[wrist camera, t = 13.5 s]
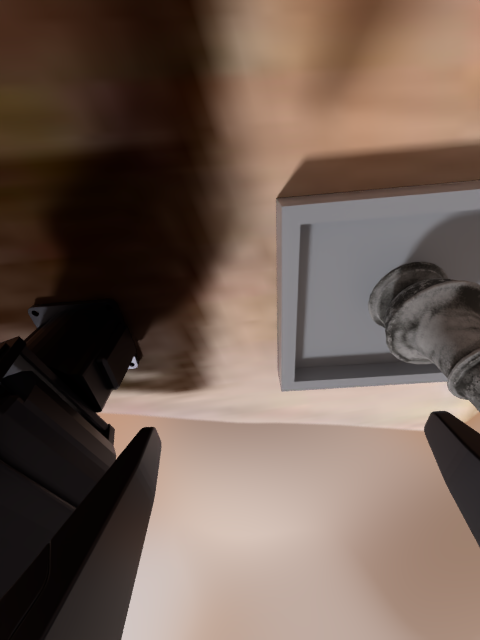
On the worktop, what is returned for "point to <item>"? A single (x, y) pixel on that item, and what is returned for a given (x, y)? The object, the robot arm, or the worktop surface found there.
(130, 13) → the worktop surface
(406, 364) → the grey tray
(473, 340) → the grey tall rounded piece
